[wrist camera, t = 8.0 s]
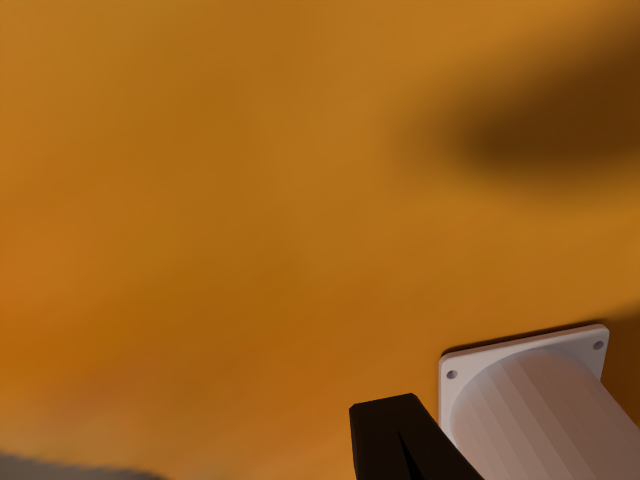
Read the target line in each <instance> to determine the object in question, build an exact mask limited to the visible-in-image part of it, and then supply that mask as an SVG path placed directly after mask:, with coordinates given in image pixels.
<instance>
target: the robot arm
mask: <svg viewBox="0 0 640 480" xmlns="http://www.w3.org/2000/svg"><path fill="white" fill-rule="evenodd" d="M609 335H610V331H609V330H608V329H607V328H606V327H605V326H604V325H603V324H594V325H589V326H584V327H579V328H574V329H569V330H564V331H559V332H554V333H548V334H543V335H538V336H533V337H528V338H523V339H518V340H513V341H508V342H503V343H498V344H493V345H487V346H482V347H477V348H472V349H467V350H462V351H457V352H452V353H448V354H445V355H444V356H442V357H441V359H440V360H439V426H438V424H437V423H436V422H435V421H434V419H433V418H432V417H431V415H430V414H429V413H428V411H427V410H426V409H425V407H424V406H423V404H422V403H421V402H420V400H419V399H418V397H417V396H416V395H414V394H413V393H409V394H403V395H398V396H393V397H388V398H383V399H378V400H373V401H368V402H363V403H358V404H354V405H353V406H352V407H351V408H350V409H349V415H350V427H351V438H352V450H353V461H354V469H355V474H356V479H357V480H640V430H639V428H638V427H637V426H636V425H635V423H634V422H633V421H632V420H631V419H630V417H629V416H628V415H627V414H626V413H625V411H624V410H623V409H622V408H621V407H620V405H619V404H618V403H617V402H616V400H615V399H614V398H613V397H612V396H611V394H610V393H609V392H608V391H607V390H606V388H605V387H604V386H603V385H602V384H601V382H600V379H601V374H602V369H603V364H604V360H605V355H606V350H607V345H608V340H609ZM452 370H453V371H452ZM449 371H452V372H450V373H448V372H449Z"/></svg>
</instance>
